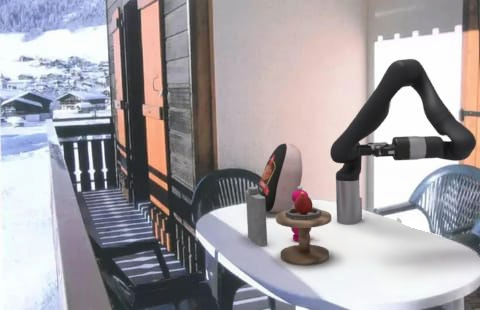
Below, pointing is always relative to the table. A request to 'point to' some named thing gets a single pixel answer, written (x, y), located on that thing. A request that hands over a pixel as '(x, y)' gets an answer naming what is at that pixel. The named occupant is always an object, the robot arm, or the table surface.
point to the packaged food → (281, 178)
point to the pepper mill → (294, 197)
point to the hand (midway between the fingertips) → (357, 150)
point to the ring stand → (304, 236)
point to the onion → (303, 204)
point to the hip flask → (256, 217)
